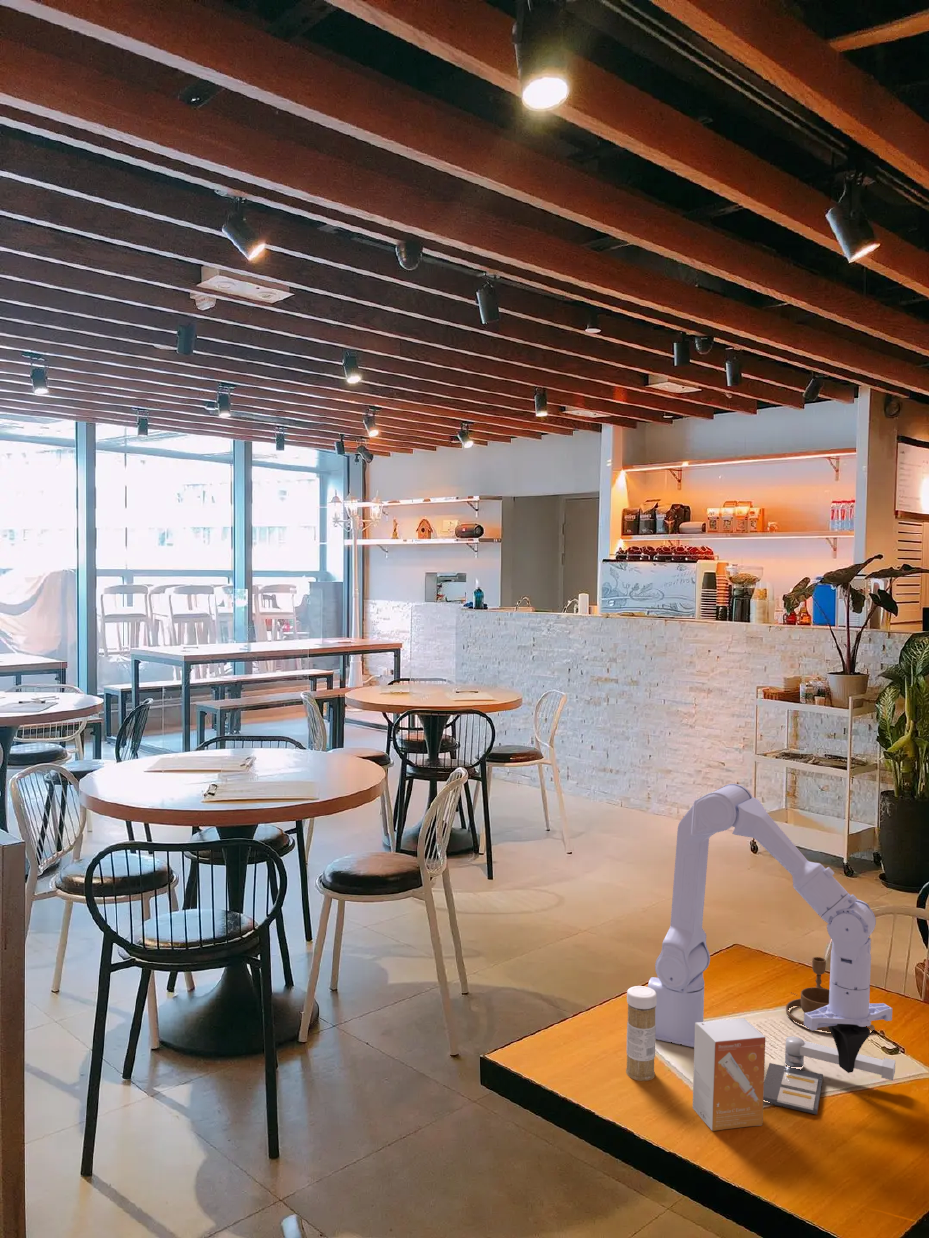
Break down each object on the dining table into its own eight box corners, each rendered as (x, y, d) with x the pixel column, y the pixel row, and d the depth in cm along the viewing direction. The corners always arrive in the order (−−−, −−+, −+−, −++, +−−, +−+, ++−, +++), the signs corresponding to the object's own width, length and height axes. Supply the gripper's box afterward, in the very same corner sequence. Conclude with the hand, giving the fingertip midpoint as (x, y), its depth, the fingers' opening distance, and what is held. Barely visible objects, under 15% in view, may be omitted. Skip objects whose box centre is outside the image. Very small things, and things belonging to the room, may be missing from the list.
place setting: (757, 1014, 172) (758, 982, 172) (812, 984, 186) (813, 954, 186) (851, 1050, 159) (852, 1015, 159) (903, 1014, 173) (904, 982, 173)
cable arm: (783, 1053, 152) (783, 1041, 152) (787, 1045, 155) (787, 1034, 155) (892, 1080, 144) (893, 1068, 144) (895, 1071, 147) (895, 1060, 147)
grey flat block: (759, 1102, 142) (759, 1089, 142) (772, 1056, 156) (772, 1044, 156) (816, 1116, 138) (817, 1102, 138) (824, 1067, 152) (825, 1055, 152)
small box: (712, 1132, 134) (714, 1041, 133) (691, 1108, 140) (693, 1021, 140) (764, 1126, 136) (766, 1036, 135) (741, 1102, 142) (743, 1016, 141)
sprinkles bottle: (642, 1065, 152) (644, 982, 152) (661, 1078, 148) (662, 993, 148) (619, 1071, 150) (621, 987, 150) (637, 1085, 146) (639, 999, 146)
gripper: (826, 998, 140) (822, 1088, 141) (907, 988, 144) (904, 1076, 145) (796, 978, 147) (793, 1064, 148) (875, 969, 151) (872, 1053, 152)
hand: (846, 1069), depth 147 cm, fingers closed, pressing on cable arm
